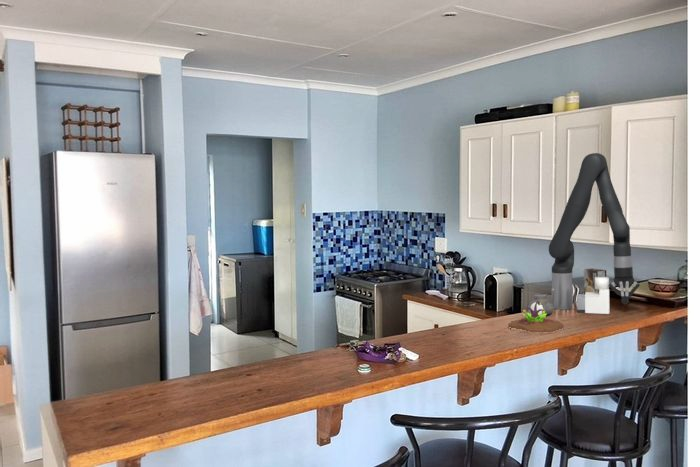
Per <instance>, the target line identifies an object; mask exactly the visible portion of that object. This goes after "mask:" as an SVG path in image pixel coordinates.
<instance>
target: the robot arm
mask: <svg viewBox="0 0 700 467" xmlns="http://www.w3.org/2000/svg"><path fill="white" fill-rule="evenodd" d="M580 165H581V166H580V168H579V173H578V177H577V179H576V181H575V185H574V186H573V188H572V191H571V192H570V195H569V197H568V200H567V202H566V205H565V208H564V211H563V213H562V216H561V219H560V221H559V224H558V226H557V230H556V231H555V233H554V234H553V237H552V239H551V241H550V243H549V245H548V254H549V255H550V257H552V258H553V259H554V263H553V264H552V266H551V292H550V293H551V304H552V305H553V307H554V310H561V311H562V310H566V311H567V310H568V311H569V310H572V309H574V307H573V306H574V301H573V300H574V298H573V297H574V292H573V285H574V284H573V268H574V265H575V247H574V243H573V242H572V240H571V238H572V235H573V234H574V233H575V231H576V229H577V228H578V227H579V225H581V223H582V221H583V220H584V218H585V216H586V214H587V212H588V209H589V206H590V203H591V199H592V197H591V196H592V191H593V187H594V185H595V183H596V186H597V190H598V193H599V194H598V195H599V199H600V202H601V203H600V204H601V206H602V208H603V211H604V213H605V216H606V218H607V220H608V223H609V226H610V229H611V233H612V235H613V236H612V237H613V247H612V249H613V273H614V274H613V275H614V276H613V277H614V278H613V281H612V282H609V288H610V289H611V290H612V291H613V292H614V293H615V294H616V295H617V296H620V297H621V298H620V299H621V303H622V305H625V306H626V305H628V304H629V302H630V301H629V296H632V295H634V294H635V292H636V291H637V289H638V288H640V283H639V282H637V281H635V278H634V270H633V265H634V264H633V258H632V249H631V248H632V247H631V240H630V239H631V237H630V236H631V232H630V229H631V228H630V225H629V223H628V222H627V219H626V217H625V215H624V211H623V208H622V205H621V203H620V200H619V198H618V195H617V193H616V191H615V187H614V186H613V183H612V180H611V176H610V171H609V167H608V161H607V158H606V157H605V155H603V154H602V153H598V152H594V153H593V152H592V153H589V154H587V155H586V156H584V158H583V159H582V162H581V164H580ZM632 286H633V287H632ZM616 287H617V288H618V289H620V291H619V290H618V289H617V288H616ZM631 287H632V289H631V290H630V288H631ZM624 290H625V292H624Z"/></svg>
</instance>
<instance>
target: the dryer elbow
mask: <svg viewBox="0 0 700 467" xmlns="http://www.w3.org/2000/svg"><path fill="white" fill-rule="evenodd" d="M609 284H610V277H608V276H606V277H595V289H599V293H596V292H586V293H585V313H584V314H597V315H598V314H600V315H601V314H602V315H609V314H610V286H609Z"/></svg>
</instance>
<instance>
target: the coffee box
mask: <svg viewBox="0 0 700 467" xmlns="http://www.w3.org/2000/svg"><path fill="white" fill-rule="evenodd" d="M595 277H607V269H606V270H605V269H601V268H600V269H599V268H585V269H583V294H585V293H586V292H596V293H599V289H595Z"/></svg>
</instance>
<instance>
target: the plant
mask: <svg viewBox="0 0 700 467" xmlns="http://www.w3.org/2000/svg"><path fill="white" fill-rule="evenodd" d="M537 303H538V305H541V302H539V301H537V302H536V304H535V307H534V311H533V310H532V309H531V308H529V307H528V306H527V307H525V308H524V309H522V315H523V318H521V319H515V320H511V321H510V322H508V324H507V325H508V326H509V327H511V328H516V329H522V330H526V331H530V332H542V333H543V332H553V331H556V330H559V329H562V328H563V329H564V324H563V323H561V322H560V321H558V320H553V319H550V318H546V317H547V316H548V315H547V313H546V314H545V311H544V310H543V309H540V310H538V311H537ZM528 309H530V311H531V314H529V312H527V310H528ZM540 311H542V314H543V315H541V316H540V314H539V312H540ZM508 326H507V327H508Z"/></svg>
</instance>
